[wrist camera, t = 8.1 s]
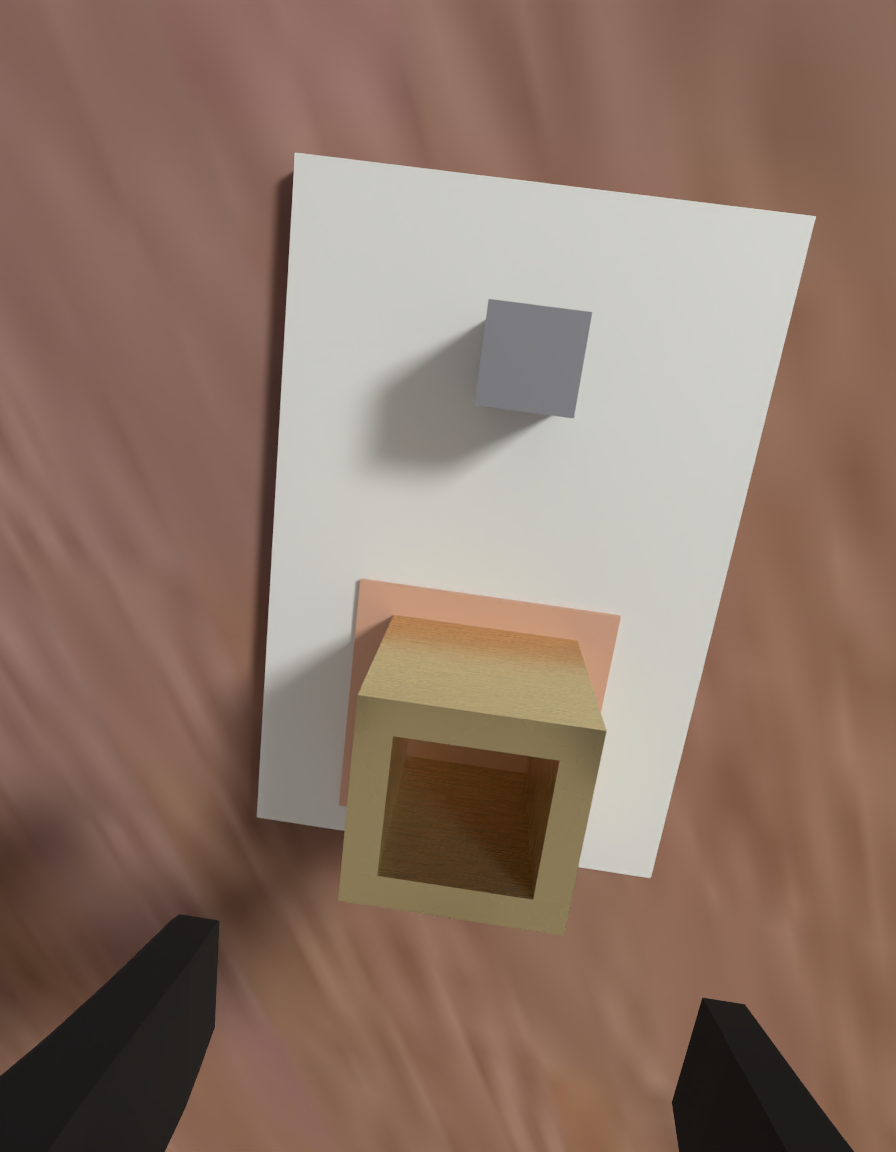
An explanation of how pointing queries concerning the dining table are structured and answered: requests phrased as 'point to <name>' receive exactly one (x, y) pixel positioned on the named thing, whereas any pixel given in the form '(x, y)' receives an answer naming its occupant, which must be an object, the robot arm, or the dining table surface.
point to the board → (513, 454)
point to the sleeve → (471, 776)
